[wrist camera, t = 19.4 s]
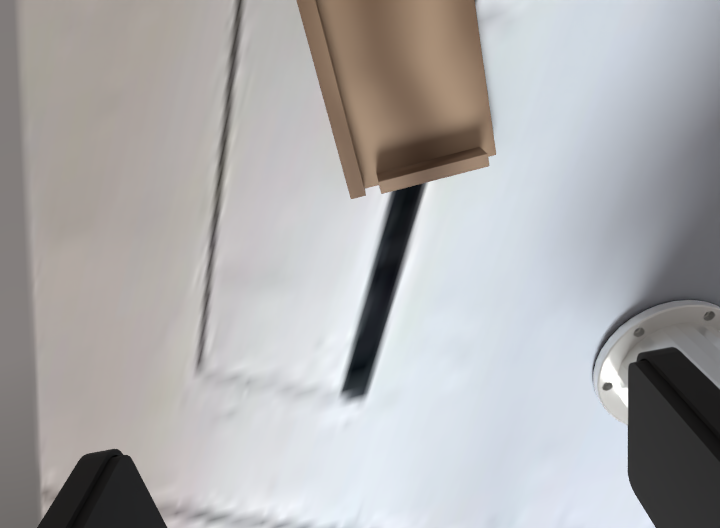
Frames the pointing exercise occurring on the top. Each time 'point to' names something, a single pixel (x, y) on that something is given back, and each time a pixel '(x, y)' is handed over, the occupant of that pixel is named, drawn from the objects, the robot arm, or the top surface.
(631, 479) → the robot arm
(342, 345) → the top surface
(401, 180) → the brown wooden shallow tray
